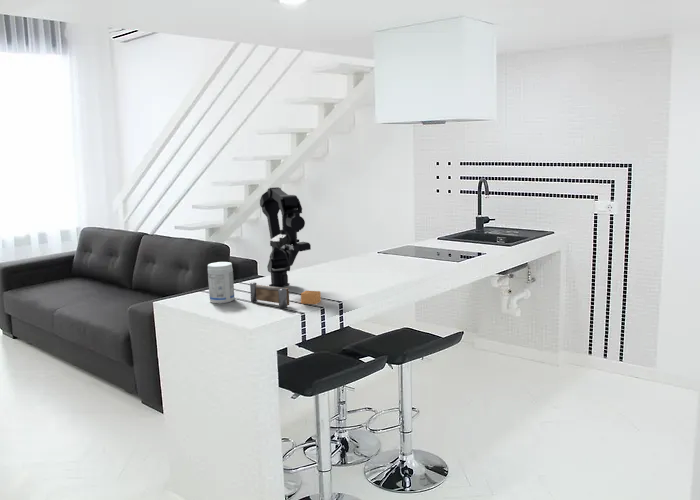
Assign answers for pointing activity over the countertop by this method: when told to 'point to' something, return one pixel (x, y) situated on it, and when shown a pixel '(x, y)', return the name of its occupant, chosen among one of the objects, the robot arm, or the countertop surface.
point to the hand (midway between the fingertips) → (290, 265)
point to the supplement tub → (221, 282)
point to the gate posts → (281, 293)
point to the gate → (269, 293)
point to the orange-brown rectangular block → (310, 297)
